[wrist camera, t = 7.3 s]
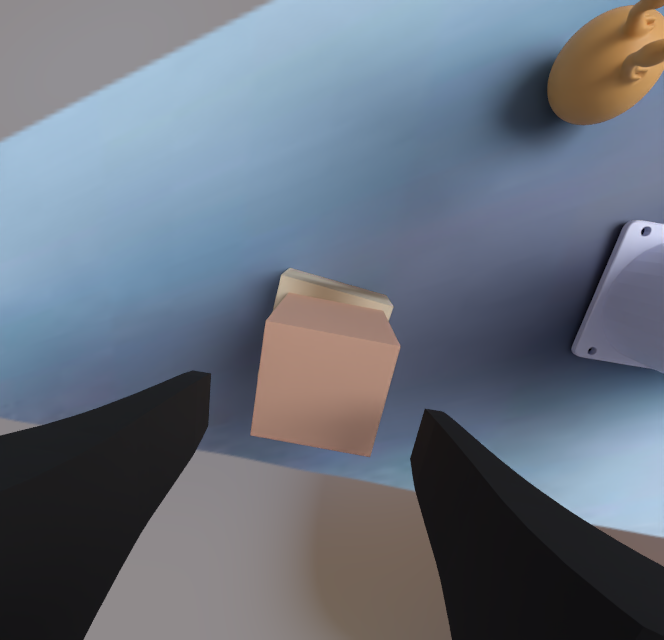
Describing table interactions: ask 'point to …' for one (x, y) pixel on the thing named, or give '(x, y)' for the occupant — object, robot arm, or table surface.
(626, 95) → the figurine
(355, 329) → the terracotta cube
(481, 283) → the table surface
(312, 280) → the birch base block
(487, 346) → the table surface
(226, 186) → the table surface
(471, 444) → the robot arm
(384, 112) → the table surface
